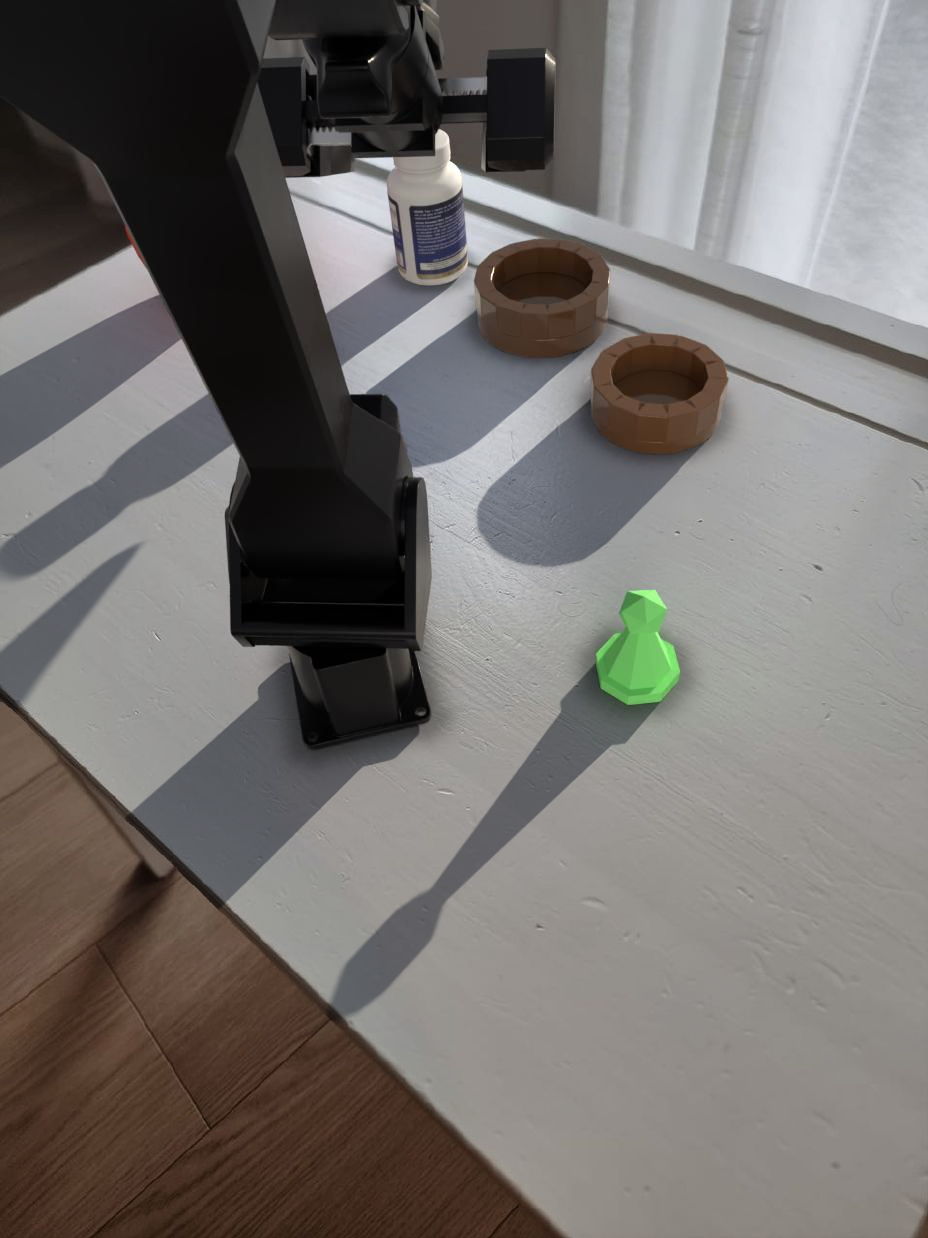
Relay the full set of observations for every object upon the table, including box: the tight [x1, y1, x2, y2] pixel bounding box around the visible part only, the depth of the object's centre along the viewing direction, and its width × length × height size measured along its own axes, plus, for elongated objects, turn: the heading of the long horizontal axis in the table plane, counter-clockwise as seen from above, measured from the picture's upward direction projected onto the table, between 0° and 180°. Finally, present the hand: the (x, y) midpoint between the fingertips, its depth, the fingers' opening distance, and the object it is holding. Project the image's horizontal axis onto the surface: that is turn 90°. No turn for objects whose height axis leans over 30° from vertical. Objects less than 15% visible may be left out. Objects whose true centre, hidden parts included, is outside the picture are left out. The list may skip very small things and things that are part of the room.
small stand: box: [589, 332, 730, 455], centre depth 63 cm, size 8×8×3 cm
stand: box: [473, 238, 611, 359], centre depth 69 cm, size 9×9×4 cm
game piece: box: [595, 589, 681, 706], centre depth 49 cm, size 4×4×6 cm
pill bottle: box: [386, 128, 469, 286], centre depth 72 cm, size 5×5×10 cm
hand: (418, 161), depth 68 cm, fingers open, 9 cm apart
